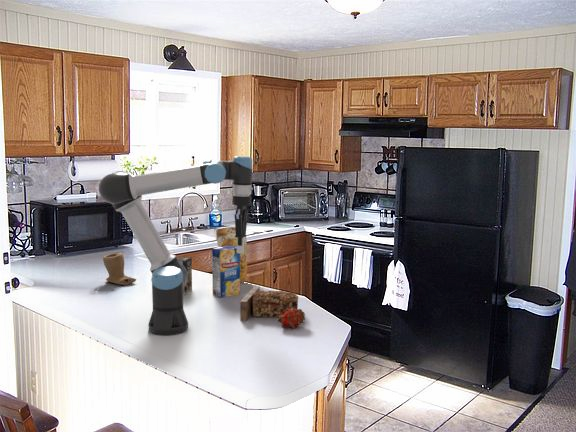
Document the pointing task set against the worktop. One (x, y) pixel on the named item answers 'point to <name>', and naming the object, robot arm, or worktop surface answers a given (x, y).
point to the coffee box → (188, 266)
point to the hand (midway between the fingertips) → (240, 253)
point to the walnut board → (247, 304)
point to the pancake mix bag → (227, 239)
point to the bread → (273, 303)
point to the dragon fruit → (292, 317)
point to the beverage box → (225, 271)
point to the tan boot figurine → (116, 269)
